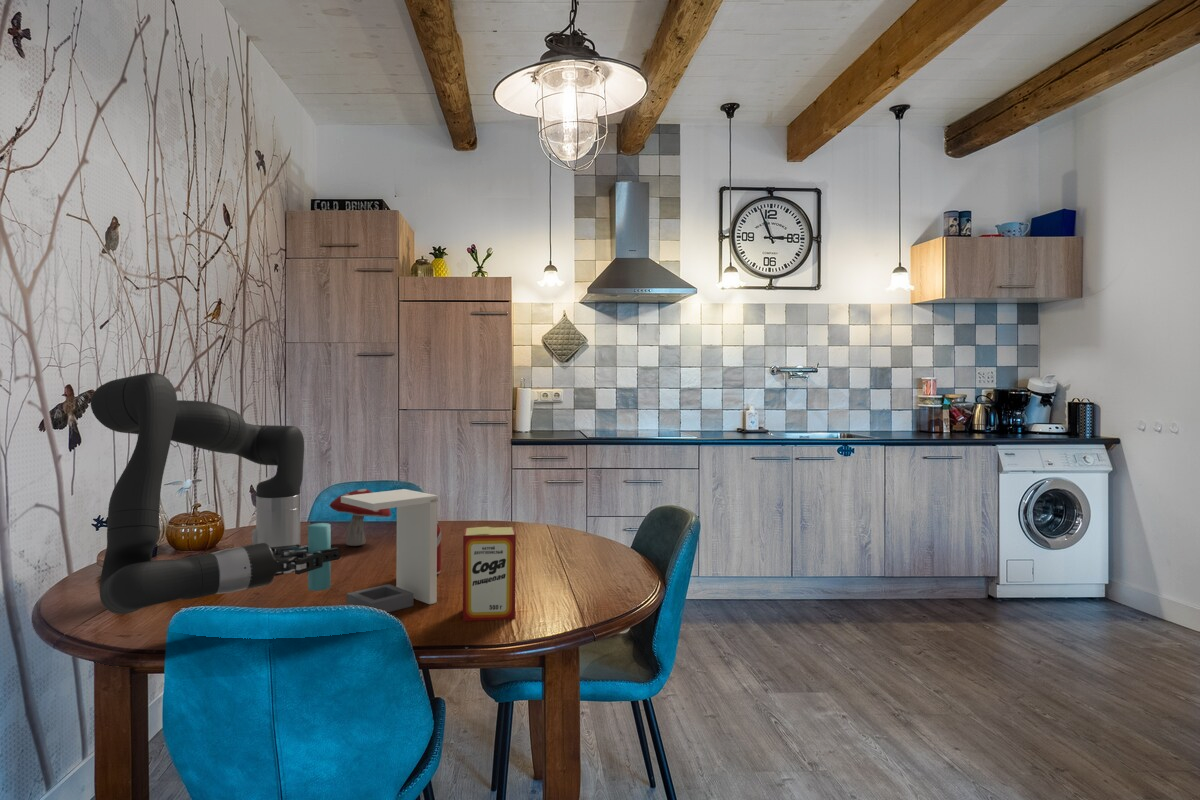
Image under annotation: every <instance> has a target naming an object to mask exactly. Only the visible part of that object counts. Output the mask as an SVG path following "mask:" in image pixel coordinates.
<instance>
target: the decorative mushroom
mask: <svg viewBox="0 0 1200 800" xmlns="http://www.w3.org/2000/svg"><path fill="white" fill-rule="evenodd" d="M366 493H374V492H373V491H371V490H369V489H367V488H362V489H356V490H353V491H349V492H346V493H344V494H340V495H339V496H337V497H336V498H335V499H333V500H332V501H331V502H330V504H329V507H330V508H331V509H332V510H335V511H336V512H339V513H347V514H350V515H352V517H351V520H350V521H349V523H348V524H347V529H346V533H345V545H347V546H351V547H358V546H362V545H364V544H366V539H367V538H366V530H365V527H364V518H365V517H371V518H372V517H374V518H375V517H376V518H389V517H391V516H392V512H391V508H387V509H380V510H369V509H365V508H361V507H357V506H353V505H349V504H345V503H341V496H348V495H357V494H366Z"/></svg>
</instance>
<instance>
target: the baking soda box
mask: <svg viewBox="0 0 1200 800" xmlns="http://www.w3.org/2000/svg"><path fill="white" fill-rule="evenodd" d="M462 537H463V539H462V541H463V542H462V543H463V544H462V549H463V550H462V622H470V621H471V622H472V621H473V622H474V621H492V620H493V621H495V620H497V621H498V620H515V619H516V560H517V559H516V553H517V552H516V550H517V549H516V547H517V546H516V545H517V544H516V542H517V541H516V540H517V539H516V537H517V535H516V530H515V527H512V526H511V527H510V526H509V527H507V526H505V527H501V526H500V527H490V526H478V527H466V528H464V529H463V536H462Z"/></svg>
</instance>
